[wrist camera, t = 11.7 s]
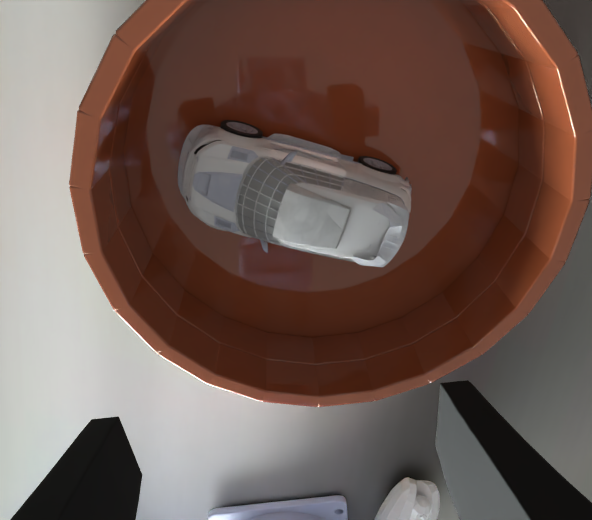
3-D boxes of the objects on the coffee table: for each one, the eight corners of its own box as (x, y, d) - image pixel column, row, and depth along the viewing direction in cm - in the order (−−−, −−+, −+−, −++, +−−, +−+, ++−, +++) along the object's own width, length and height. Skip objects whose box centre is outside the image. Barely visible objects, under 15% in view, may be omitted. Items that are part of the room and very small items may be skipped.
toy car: (189, 104, 16) (174, 127, 13) (412, 164, 17) (438, 196, 14) (173, 204, 17) (156, 242, 15) (376, 251, 19) (393, 294, 16)
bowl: (502, 319, 21) (547, 383, 18) (166, 355, 21) (147, 426, 18) (567, -97, 14) (668, -124, 10) (45, -37, 14) (-30, -45, 10)
